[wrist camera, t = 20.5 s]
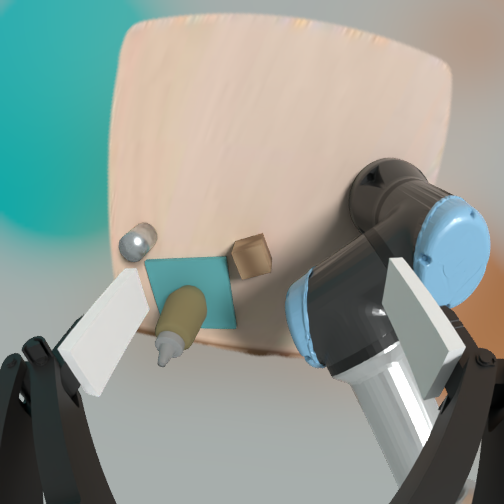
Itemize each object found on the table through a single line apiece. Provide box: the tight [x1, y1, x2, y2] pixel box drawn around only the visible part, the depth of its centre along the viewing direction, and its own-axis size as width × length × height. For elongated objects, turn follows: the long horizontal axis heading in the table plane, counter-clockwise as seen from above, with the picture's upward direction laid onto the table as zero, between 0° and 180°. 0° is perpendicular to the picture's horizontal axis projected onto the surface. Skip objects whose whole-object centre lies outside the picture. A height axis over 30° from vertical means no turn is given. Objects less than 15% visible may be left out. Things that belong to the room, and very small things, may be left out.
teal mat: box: [145, 256, 237, 329], centre depth 54 cm, size 16×16×1 cm
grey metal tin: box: [119, 223, 157, 262], centre depth 47 cm, size 5×5×6 cm
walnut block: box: [231, 233, 272, 280], centre depth 47 cm, size 5×5×5 cm
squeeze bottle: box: [155, 285, 207, 367], centre depth 45 cm, size 8×8×18 cm
